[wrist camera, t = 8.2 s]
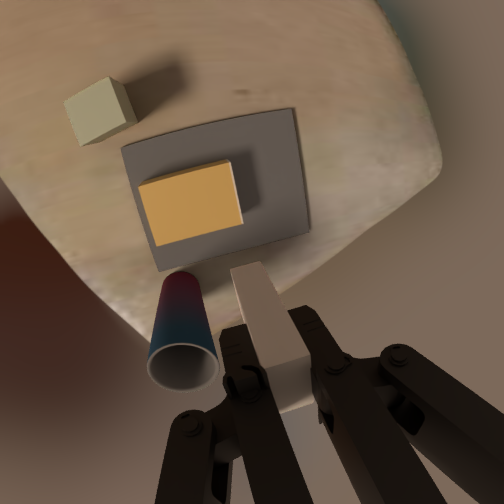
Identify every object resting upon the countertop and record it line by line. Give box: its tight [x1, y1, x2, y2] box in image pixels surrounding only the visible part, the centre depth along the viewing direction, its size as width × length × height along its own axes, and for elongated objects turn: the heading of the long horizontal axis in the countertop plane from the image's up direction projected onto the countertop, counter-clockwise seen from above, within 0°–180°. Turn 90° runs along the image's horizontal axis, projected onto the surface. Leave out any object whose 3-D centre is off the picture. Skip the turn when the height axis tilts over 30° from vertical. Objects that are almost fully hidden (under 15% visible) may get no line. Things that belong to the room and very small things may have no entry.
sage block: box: [63, 76, 138, 147], centre depth 25 cm, size 5×5×7 cm
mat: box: [121, 109, 309, 272], centre depth 34 cm, size 16×20×1 cm
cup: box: [147, 272, 220, 393], centre depth 32 cm, size 7×7×15 cm
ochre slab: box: [138, 159, 244, 246], centre depth 32 cm, size 7×3×10 cm
